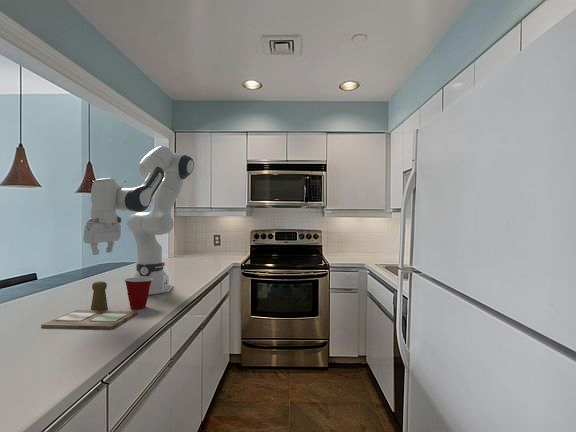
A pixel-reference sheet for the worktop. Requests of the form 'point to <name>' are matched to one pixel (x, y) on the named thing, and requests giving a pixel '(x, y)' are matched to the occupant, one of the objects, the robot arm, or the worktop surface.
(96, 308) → the cork
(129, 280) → the plastic cup
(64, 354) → the worktop surface
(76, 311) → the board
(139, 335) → the worktop surface
